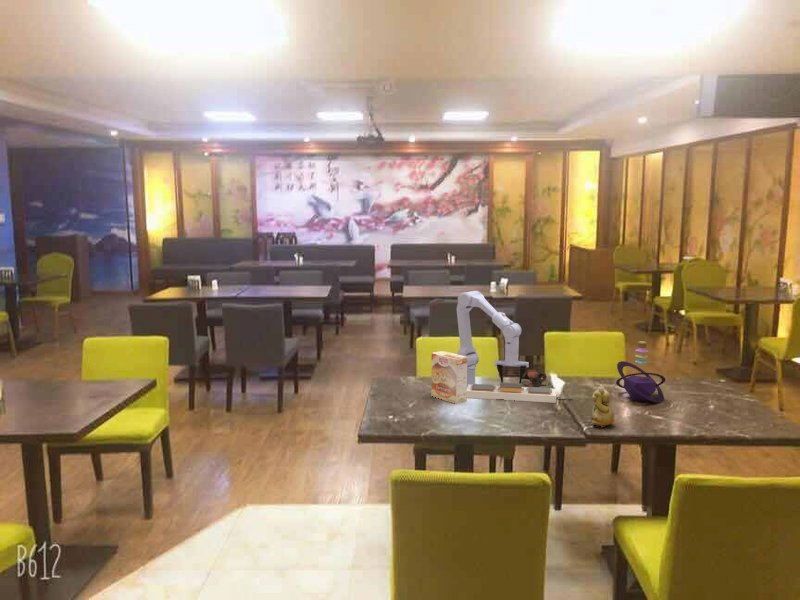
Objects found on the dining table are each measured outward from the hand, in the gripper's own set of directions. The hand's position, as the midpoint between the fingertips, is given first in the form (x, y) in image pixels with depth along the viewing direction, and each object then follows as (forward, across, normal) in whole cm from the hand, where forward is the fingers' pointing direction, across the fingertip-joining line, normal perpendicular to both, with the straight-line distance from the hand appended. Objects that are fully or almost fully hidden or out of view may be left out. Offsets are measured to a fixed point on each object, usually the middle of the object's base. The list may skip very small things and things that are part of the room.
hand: (511, 382), depth 277 cm
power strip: (+6, +4, 0) cm, 7 cm away
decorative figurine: (+7, +35, -30) cm, 47 cm away
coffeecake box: (+6, -26, -8) cm, 28 cm away
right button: (+5, +12, 0) cm, 13 cm away
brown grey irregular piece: (+7, +10, +21) cm, 24 cm away
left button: (+4, -12, 0) cm, 13 cm away
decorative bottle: (+7, +54, +7) cm, 55 cm away
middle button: (+3, 0, 0) cm, 3 cm away
